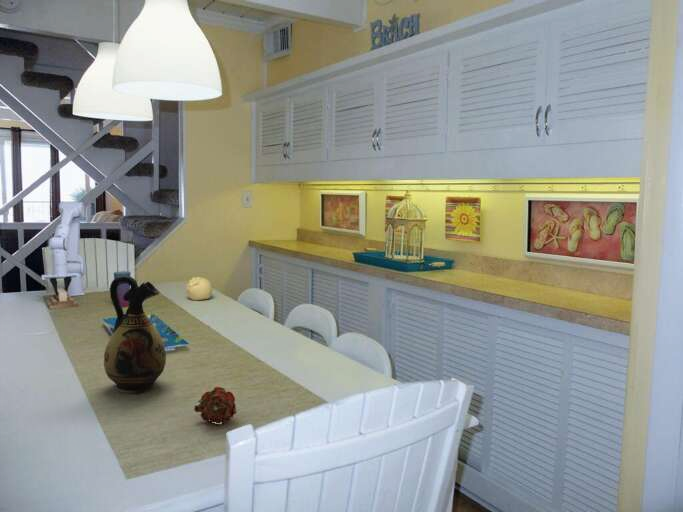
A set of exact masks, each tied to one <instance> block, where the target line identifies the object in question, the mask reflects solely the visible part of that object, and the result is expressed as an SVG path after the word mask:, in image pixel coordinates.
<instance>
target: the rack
mask: <svg viewBox="0 0 683 512" xmlns="http://www.w3.org/2000/svg"><path fill="white" fill-rule="evenodd" d="M44 302H45V303H46V304H47V307H48V309H49V310H52V309H63V308H73V307H74V308H75V307H79V303H78V301H76V299H75V298H74V296H70V295H69V294H67V301H60V302H58V301H57V300H56V295H55V294H53V295H52V294H51V295H48V298H44Z"/></svg>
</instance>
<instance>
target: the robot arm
mask: <svg viewBox="0 0 683 512" xmlns="http://www.w3.org/2000/svg"><path fill="white" fill-rule="evenodd" d="M58 212H59V214H60V216H61V217H60V223H59V224H58V225H57V226H56V227H55V231H54V235H53V237H52V238H51V237H50V239H49V249H50V254H51V257H52V258H51V259H52V260H51V261H52V273H49V274H41V280H42V281H46V280H49V282H50V283H51V285H52V287H53V290H54V295H56V296H58V291H57V288H58V280H59V279H60V280H62V279H63V282H64V285H63V286H64V290H65V291H66V292H67V294H69V295H70V296H71V297H76V296H85V295H86V293H85V292H84V286H83V285H84V284H83V283H84V282H83V276H85V274H86V272H87V266H86V265H87V264H86V260H85V258H84V257H82V256H81V255H80V233H81V232H80V229H81V221H84V220H85V204H84V202H82V201H79V202H78V201H77V202H76V201H61V202H59V204H58Z"/></svg>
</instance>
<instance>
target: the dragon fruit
mask: <svg viewBox="0 0 683 512" xmlns="http://www.w3.org/2000/svg"><path fill="white" fill-rule="evenodd" d="M235 399H236V398H235V395H234V394H233V393H232V392H231V391H226V389H225V388H224V387H220V386H215V387H214V388H213V390H211V391H206V392H205V393H204V394H202V395H201V398H200V399H199V400H198V401H197V403H199V404H198V405H197V404H195V405H194V408H193V410H194V411H195V412H196V413H199V412H200V417H201V418H202V419H201V420H203V421H204V422H206V421H209V420H210V421H211V422H210V423H212V422H216V423H220V422H222V423H223V424H226V423H228V422H229V421H230V419H231V417H232V418H233V417H234V416H235V414H237V407H236V402H235V401H236V400H235Z"/></svg>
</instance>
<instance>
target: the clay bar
mask: <svg viewBox="0 0 683 512" xmlns="http://www.w3.org/2000/svg"><path fill="white" fill-rule="evenodd" d="M64 289H65V287H57V291H58V296H56V300H57V301H58V302H60V301H67V292H66V291H65V290H64Z"/></svg>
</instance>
